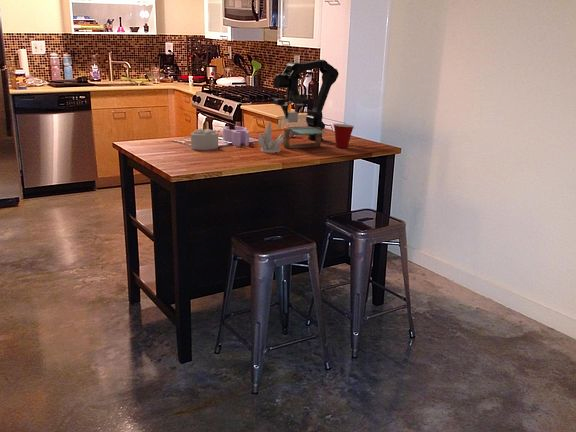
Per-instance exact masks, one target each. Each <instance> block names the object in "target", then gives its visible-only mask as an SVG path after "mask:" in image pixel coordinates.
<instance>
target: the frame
mask: <svg viewBox="0 0 576 432" xmlns="http://www.w3.org/2000/svg"><path fill="white" fill-rule="evenodd" d="M316 129H319V130H321V129H322V128H320V127H316ZM322 130H323V129H322ZM290 131H291V129H287V128H284V129H283V138H284V139H283V148H284V149H297V148H298V149H300V148H316V147H321V145H322V142H321V141H322V140H321V133H317V134H316V140H314V142H310V143H309V142H308V143H290V137H291V135H290Z"/></svg>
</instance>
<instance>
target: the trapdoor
mask: <svg viewBox="0 0 576 432" xmlns="http://www.w3.org/2000/svg"><path fill="white" fill-rule="evenodd" d="M286 129H291V131H290V137H292V136H309V135H314V134H317V133H322V134H327V131H324V130H323V129H322V130H319V129H316V128H314V127H311V126H308V125H306V126H305V125H304V126H303V125H302V126H287V127H286Z"/></svg>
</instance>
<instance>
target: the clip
mask: <svg viewBox="0 0 576 432" xmlns="http://www.w3.org/2000/svg"><path fill="white" fill-rule="evenodd" d="M223 140H225V141H229V142H232V143H233V144H232V146H235V147H241V145H244V147H248V146H249V145H250V130H248V128H247V127H243V126H239V125H234V129H230V126H226V125H224V126H223V127H222V141H223Z"/></svg>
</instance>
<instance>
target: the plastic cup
mask: <svg viewBox="0 0 576 432" xmlns="http://www.w3.org/2000/svg"><path fill="white" fill-rule="evenodd" d="M333 128H334V136H335V146H336V148H337V149H348V147H349V144H350V141H351V136H352V132H353V129H354V128H355V125H353V124H347V123H333Z"/></svg>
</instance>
